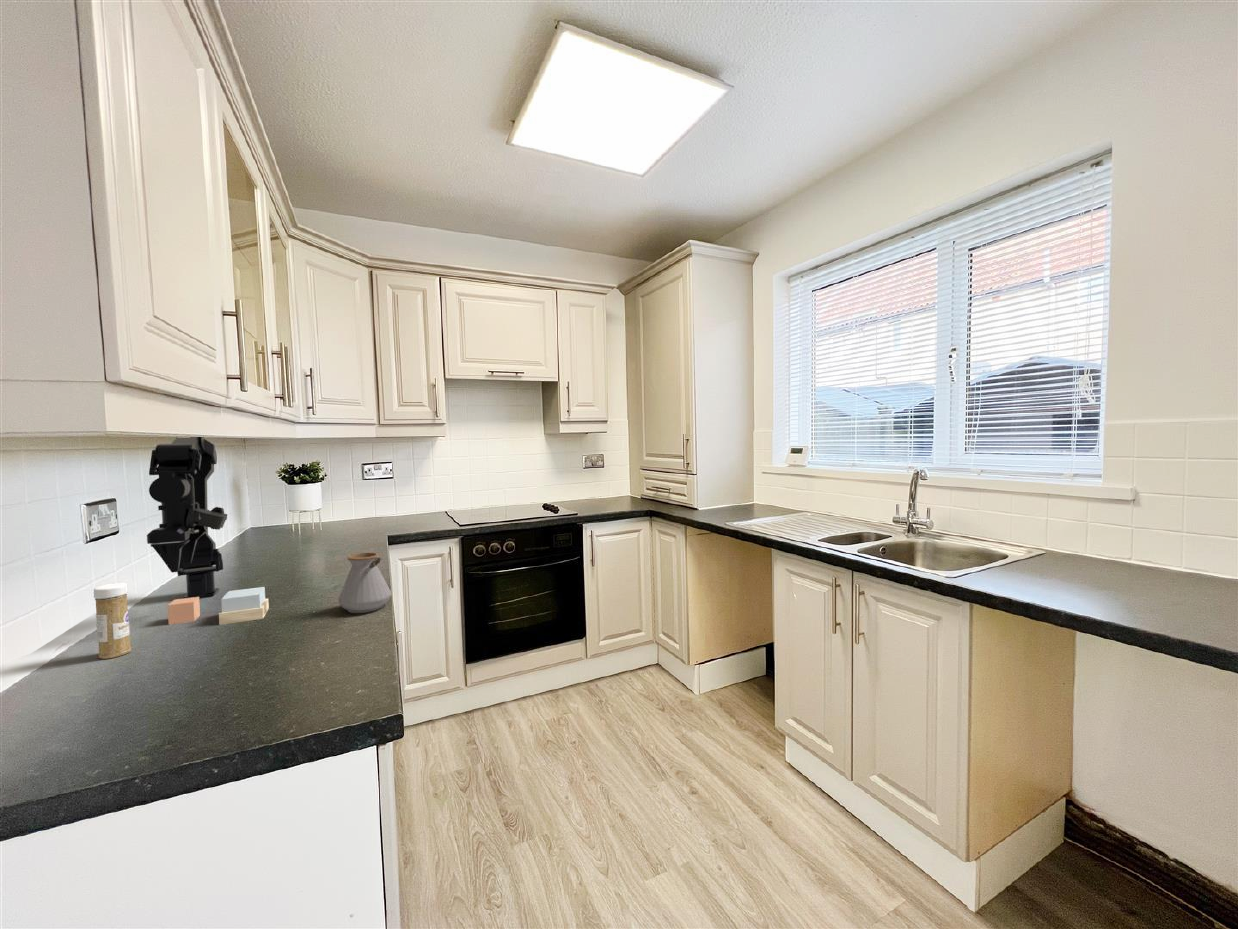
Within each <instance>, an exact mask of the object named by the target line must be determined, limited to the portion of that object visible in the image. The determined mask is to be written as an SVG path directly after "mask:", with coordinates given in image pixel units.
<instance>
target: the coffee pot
mask: <svg viewBox="0 0 1238 929" xmlns="http://www.w3.org/2000/svg"><path fill="white" fill-rule="evenodd" d="M346 559H347V560H348V562H350V564H351V567H350V570H349V573H348V575H347V577H346V579H345V581H344V585H343V587H342V589H341V592H340V593H339V596H338V604H339V606H340V607H341V608H343V609H344V610H347V612H348V613H351V614H365V613H370V612H374V611H377V610H380V609H381V608H383V607H384V605H385V604H386V603H387V602H388V601H389V600H390V598H391V596H392V591H391V589H390V587H389V586H388V584H387V581H386V579H385V578H384V576H383V575H382V572H381V571H380V570H381V569H380V568H381V567H383V566H384V565H385V563H386V561H385V560H384V559H383V558H381V557H379V554H378V553H377V552H363V553H356V554H352V555H349V556H348V557H347V558H346ZM381 560H382V561H383V564H382V565H381V566H379V565H378V564H380V563H381Z"/></svg>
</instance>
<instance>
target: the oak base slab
mask: <svg viewBox="0 0 1238 929" xmlns="http://www.w3.org/2000/svg"><path fill="white" fill-rule="evenodd" d="M269 601H270V600H269V598H267V597H266V598H265V600H264V602H263V603H262V605H261V607H259V608H252V609H244V610H237V611H230V612H222V610H221V611H220V612H219V613H218V621H219V622H218V623H219V626H220V625H221V626H222V625H228V624H234V623H235V624H237V623H243V622H250V621H254V620H255V621H256V620H263V619H264V617H265V616H266V614H267V613H268V611H269V608H270V606H269V604H270V603H269Z"/></svg>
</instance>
